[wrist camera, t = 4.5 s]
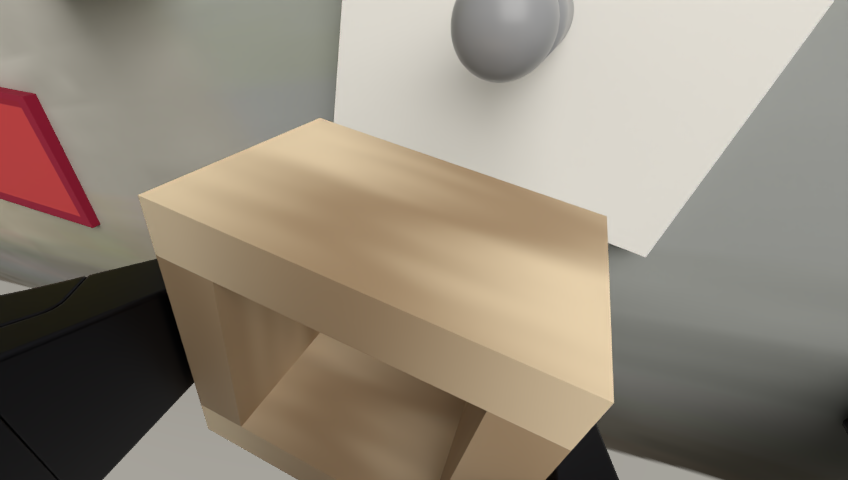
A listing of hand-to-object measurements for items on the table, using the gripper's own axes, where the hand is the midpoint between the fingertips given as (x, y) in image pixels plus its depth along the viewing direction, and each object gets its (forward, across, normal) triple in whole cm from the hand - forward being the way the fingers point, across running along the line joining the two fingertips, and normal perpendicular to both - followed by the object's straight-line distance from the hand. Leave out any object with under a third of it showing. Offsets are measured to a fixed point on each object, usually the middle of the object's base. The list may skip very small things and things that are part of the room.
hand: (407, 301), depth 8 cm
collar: (+1, 0, 0) cm, 1 cm away
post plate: (+11, 0, -5) cm, 12 cm away
